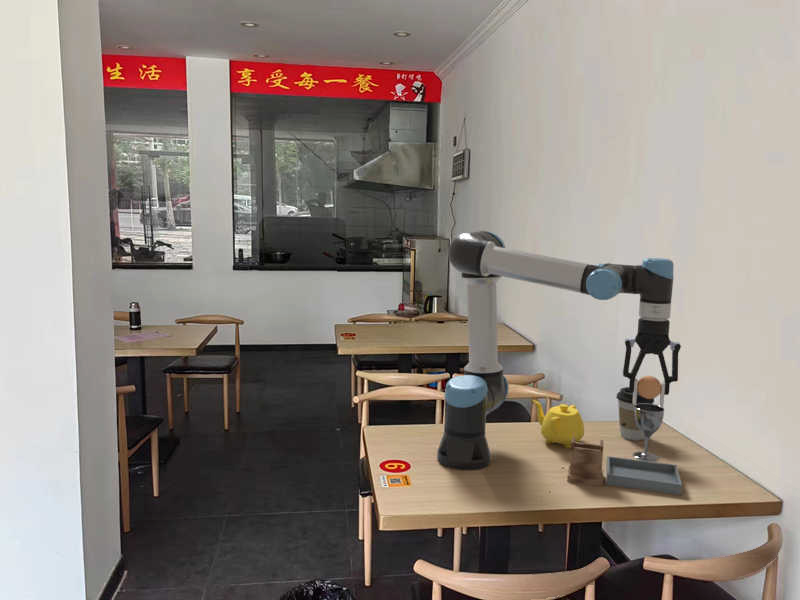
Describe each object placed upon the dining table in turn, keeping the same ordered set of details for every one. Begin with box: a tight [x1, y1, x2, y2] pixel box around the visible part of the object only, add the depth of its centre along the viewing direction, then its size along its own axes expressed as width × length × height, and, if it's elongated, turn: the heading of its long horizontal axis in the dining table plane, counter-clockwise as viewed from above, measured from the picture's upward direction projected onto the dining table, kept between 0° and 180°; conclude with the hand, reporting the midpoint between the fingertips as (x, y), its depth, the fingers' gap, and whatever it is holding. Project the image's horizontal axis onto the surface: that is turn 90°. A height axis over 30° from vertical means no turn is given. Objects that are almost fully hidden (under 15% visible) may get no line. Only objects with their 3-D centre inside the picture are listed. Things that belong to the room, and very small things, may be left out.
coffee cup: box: [615, 386, 655, 441], centre depth 198 cm, size 11×11×15 cm
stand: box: [566, 437, 604, 487], centre depth 166 cm, size 9×7×10 cm
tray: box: [605, 455, 683, 496], centre depth 167 cm, size 18×13×3 cm
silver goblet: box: [632, 403, 665, 462], centre depth 182 cm, size 8×8×15 cm
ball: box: [637, 375, 661, 399], centre depth 163 cm, size 6×6×6 cm
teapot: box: [532, 399, 585, 449], centre depth 193 cm, size 14×14×12 cm
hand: (647, 404), depth 164 cm, fingers closed on ball, 6 cm apart
